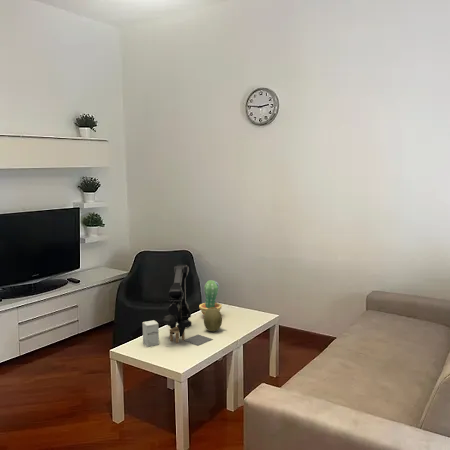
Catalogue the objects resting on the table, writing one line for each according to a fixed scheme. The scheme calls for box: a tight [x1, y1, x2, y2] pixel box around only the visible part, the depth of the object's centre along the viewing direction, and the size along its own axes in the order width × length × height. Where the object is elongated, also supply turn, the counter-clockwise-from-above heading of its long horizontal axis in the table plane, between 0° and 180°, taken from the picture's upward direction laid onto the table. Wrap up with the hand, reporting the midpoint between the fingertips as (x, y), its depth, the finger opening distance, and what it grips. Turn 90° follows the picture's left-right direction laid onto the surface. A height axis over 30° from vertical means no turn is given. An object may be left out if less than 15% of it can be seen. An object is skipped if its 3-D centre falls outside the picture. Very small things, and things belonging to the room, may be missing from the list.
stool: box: [169, 326, 186, 344], centre depth 275 cm, size 6×6×7 cm
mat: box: [183, 334, 214, 347], centre depth 275 cm, size 12×12×1 cm
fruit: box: [203, 307, 223, 332], centre depth 290 cm, size 11×11×15 cm
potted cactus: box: [198, 279, 223, 316], centre depth 315 cm, size 15×15×25 cm
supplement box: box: [142, 319, 160, 348], centre depth 270 cm, size 7×7×13 cm
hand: (177, 335), depth 275 cm, fingers closed on stool, 6 cm apart
